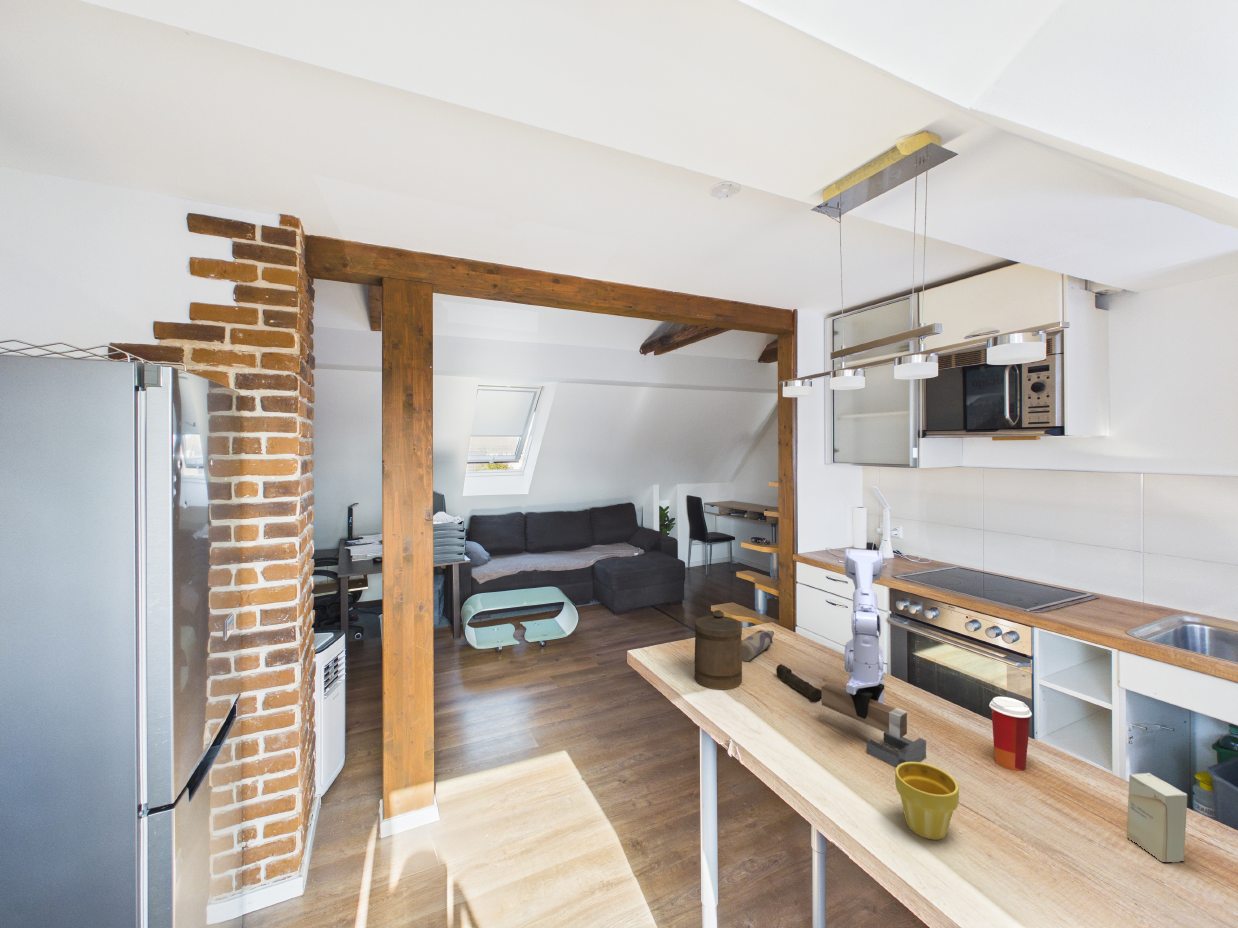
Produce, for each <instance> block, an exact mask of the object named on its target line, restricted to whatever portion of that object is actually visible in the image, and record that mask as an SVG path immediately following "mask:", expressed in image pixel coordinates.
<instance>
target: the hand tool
mask: <svg viewBox="0 0 1238 928" xmlns="http://www.w3.org/2000/svg"><path fill="white" fill-rule="evenodd" d="M775 670H776V677H777V678H778V679H779V680H780V681H781V682H782V683H783V684H787V683H788V685H790V686H791V687H792V688H794V689H796V690H797V692H799V693H801V694H802V695H804V696H805V697H807V698H808V699H810V702H811V703H812V702H813V703H819V702H821V701H822V689H820V688H818V687H815V686H813V685H812V684H811V683H810V682H808V681H806V680H804V679H803V678H801V677H799V676H798V675H796V674H794V673H793V671H792V669H791V668H789V667H787V666H785V665H784V664H777V667H776V668H775Z"/></svg>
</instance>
